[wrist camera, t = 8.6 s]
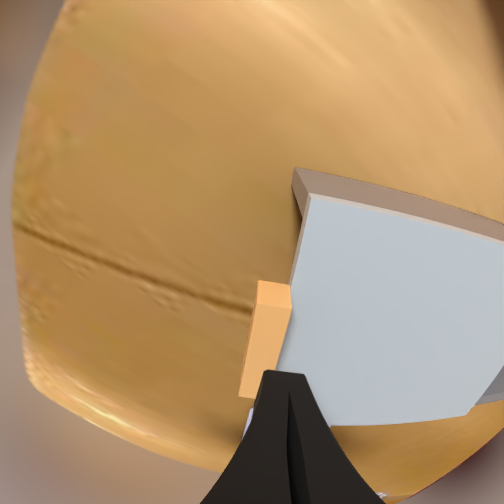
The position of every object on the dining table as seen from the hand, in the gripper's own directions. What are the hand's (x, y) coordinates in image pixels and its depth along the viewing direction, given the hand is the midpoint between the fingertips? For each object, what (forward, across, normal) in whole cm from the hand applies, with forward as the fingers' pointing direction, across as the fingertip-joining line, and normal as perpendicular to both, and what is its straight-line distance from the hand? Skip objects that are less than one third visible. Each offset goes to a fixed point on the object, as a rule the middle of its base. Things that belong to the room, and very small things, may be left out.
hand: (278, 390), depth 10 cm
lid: (+4, -7, 0) cm, 8 cm away
